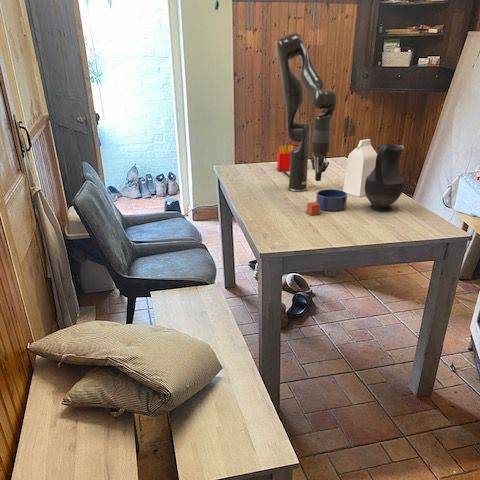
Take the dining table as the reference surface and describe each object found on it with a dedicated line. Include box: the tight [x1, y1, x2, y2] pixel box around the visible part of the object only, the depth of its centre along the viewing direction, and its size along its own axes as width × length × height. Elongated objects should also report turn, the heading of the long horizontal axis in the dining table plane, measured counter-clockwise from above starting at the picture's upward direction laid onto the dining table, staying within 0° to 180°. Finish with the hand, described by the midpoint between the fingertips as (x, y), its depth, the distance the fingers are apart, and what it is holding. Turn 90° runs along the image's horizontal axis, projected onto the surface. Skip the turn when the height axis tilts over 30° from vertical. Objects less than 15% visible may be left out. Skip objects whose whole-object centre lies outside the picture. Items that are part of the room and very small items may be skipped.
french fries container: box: [276, 144, 295, 172], centre depth 296 cm, size 7×9×14 cm
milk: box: [342, 138, 378, 198], centre depth 252 cm, size 12×12×26 cm
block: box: [306, 201, 321, 216], centre depth 229 cm, size 4×4×4 cm
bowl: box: [315, 188, 348, 212], centre depth 236 cm, size 14×14×6 cm
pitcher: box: [365, 143, 405, 212], centre depth 227 cm, size 17×21×30 cm
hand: (318, 180), depth 225 cm, fingers closed
